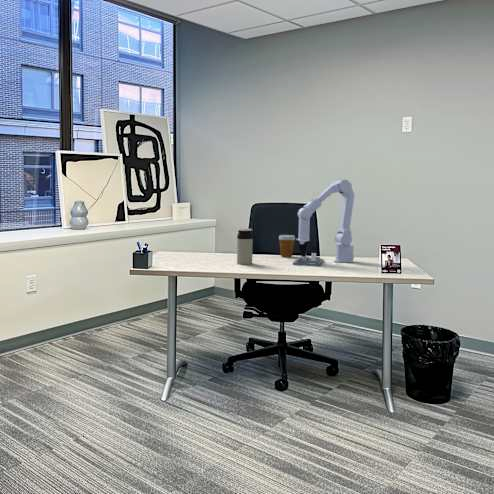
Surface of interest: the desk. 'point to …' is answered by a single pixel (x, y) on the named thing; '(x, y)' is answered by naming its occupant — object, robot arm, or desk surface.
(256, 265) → the desk surface
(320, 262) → the switch bank
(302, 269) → the desk surface
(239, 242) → the travel mug
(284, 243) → the disposable coffee cup
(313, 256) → the tab
